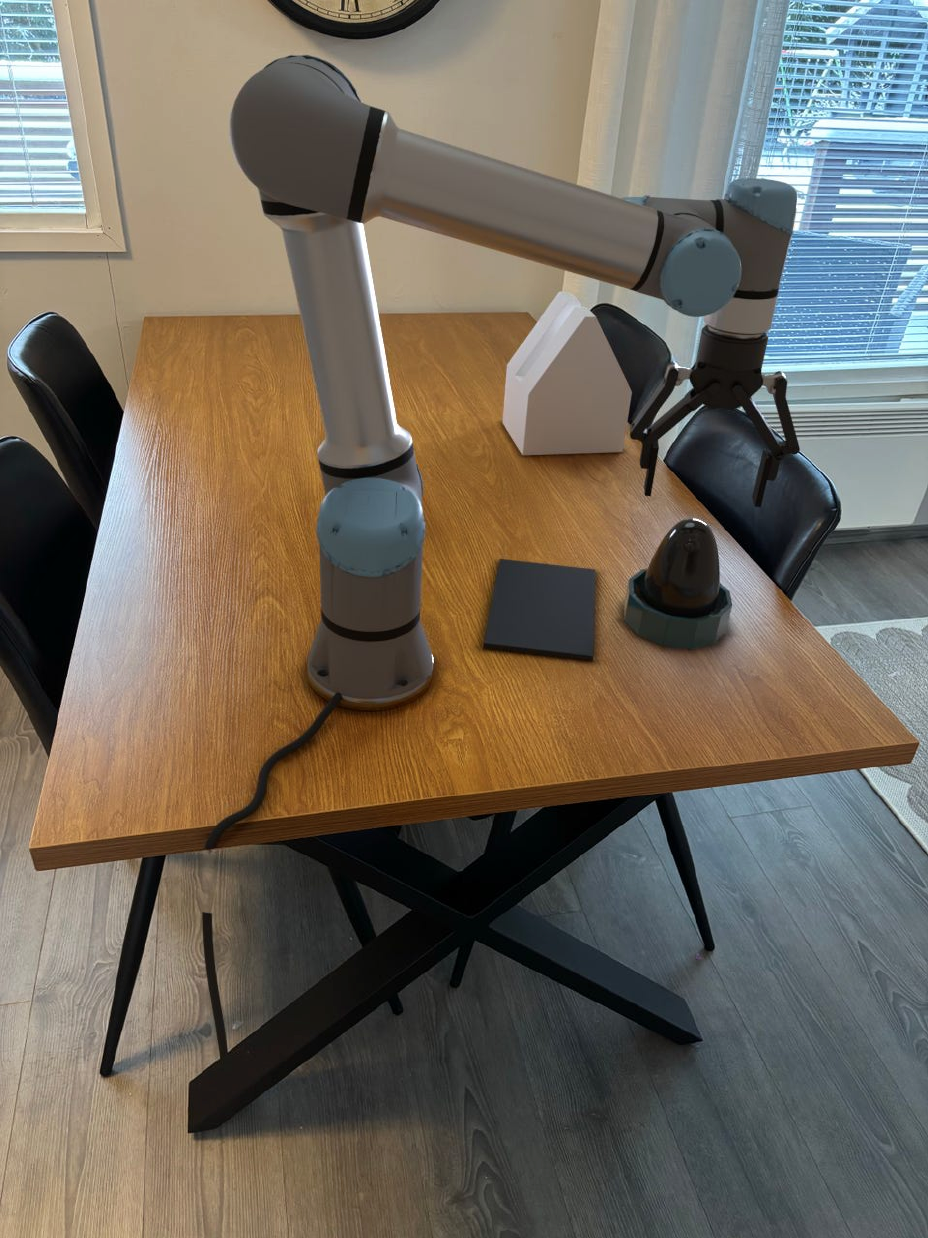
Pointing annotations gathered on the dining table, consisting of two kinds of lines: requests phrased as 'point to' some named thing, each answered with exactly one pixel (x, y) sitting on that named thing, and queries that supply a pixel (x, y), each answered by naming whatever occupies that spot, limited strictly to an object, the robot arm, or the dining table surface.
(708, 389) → the robot arm
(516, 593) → the rubber mat
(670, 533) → the dark glossy rounded piece
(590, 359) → the white pentagonal block
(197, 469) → the dining table surface
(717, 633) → the teal ring
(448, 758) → the dining table surface
